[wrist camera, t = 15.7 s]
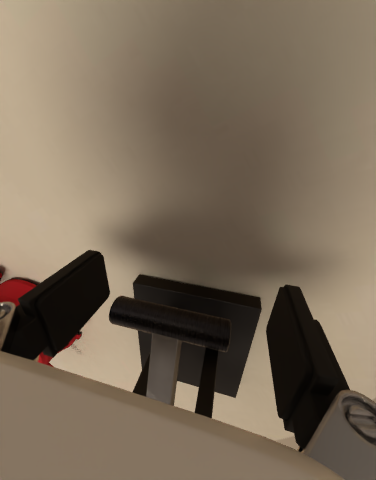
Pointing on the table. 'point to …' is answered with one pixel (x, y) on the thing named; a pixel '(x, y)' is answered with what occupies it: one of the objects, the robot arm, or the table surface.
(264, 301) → the table surface
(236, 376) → the black handle mount
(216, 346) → the door lever
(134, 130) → the table surface
